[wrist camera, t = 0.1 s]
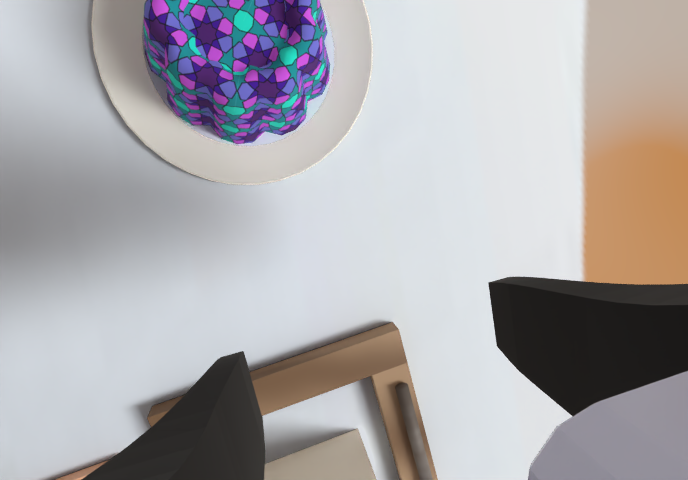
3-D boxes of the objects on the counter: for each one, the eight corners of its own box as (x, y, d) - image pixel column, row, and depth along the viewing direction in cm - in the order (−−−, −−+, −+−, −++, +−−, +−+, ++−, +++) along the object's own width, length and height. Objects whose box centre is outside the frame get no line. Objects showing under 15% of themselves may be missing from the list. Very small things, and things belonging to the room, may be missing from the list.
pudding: (409, -1, 20) (461, -57, 15) (306, 223, 21) (321, 243, 16) (163, -160, 17) (121, -300, 12) (55, 112, 18) (-27, 91, 13)
